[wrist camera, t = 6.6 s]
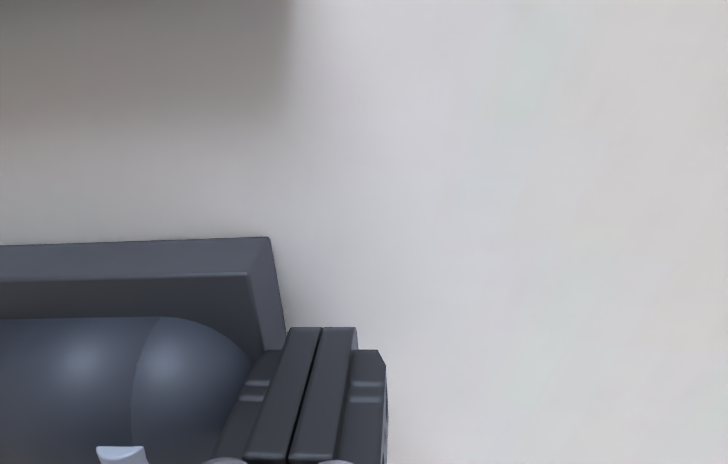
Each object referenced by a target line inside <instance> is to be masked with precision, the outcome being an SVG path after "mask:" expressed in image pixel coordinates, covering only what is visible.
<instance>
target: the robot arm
mask: <svg viewBox="0 0 728 464" xmlns="http://www.w3.org/2000/svg"><path fill="white" fill-rule="evenodd" d="M387 437H388V399H387V379H386V365H385V363H384V361H383V359H382V357H381V356H380V354H379V352H378V350H358V341H357V331H356V328H355V327H324V328H322V327H291V328H290V330H289V332H288V335H287V337H286V340H285V343H284V345H283V348H282V350H267V351H266V352H264V353H263V354H262V355H261V356H260V357H259V358H258V359H257V360H256V361H255V362H254V363H253V364H252V365H251V368H250V370H249V372H248V374H247V377H246V379H245V381H244V386H242V388H241V390H240V392H239V394H238V397H237V401H235V403H234V406H233V408H232V410H231V412H230V415H229V417H228V419H227V421H226V423H225V426H224V428H223V430H222V432H221V435H220V437H219V439H218V441H217V444H216V446H215V448H214V450H213V452H212V455H211V457H210V459H209V461H206V462H204V463H202V464H386V461H387Z"/></svg>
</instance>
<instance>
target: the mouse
mask: <svg viewBox="0 0 728 464" xmlns="http://www.w3.org/2000/svg"><path fill="white" fill-rule="evenodd" d="M286 337H287V336H286V330H285V324H284V318H283V312H282V306H281V300H280V294H279V288H278V282H277V276H276V270H275V264H274V258H273V253H272V247H271V241H270V238H269V237H252V238H222V239H192V240H162V241H132V242H103V243H73V244H43V245H13V246H0V464H202V463H204V462H206V461H209V459H210V457H211V455H212V452H213V450H214V448H215V446H216V444H217V441H218V439H219V437H220V435H221V432H222V430H223V428H224V426H225V423H226V421H227V419H228V417H229V415H230V412H231V410H232V408H233V406H234V403H235V401H237V397H238V394H239V392H240V390H241V388H242V386H244V381H245V379H246V377H247V374H248V372H249V370H250V368H251V365H252V364H253V363H254V362H255V361H256V360H257V359H258V358H259V357H260V356H261V355H262V354H263V353H264V352H266V351H267V350H282V348H283V345H284V343H285V340H286Z"/></svg>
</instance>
